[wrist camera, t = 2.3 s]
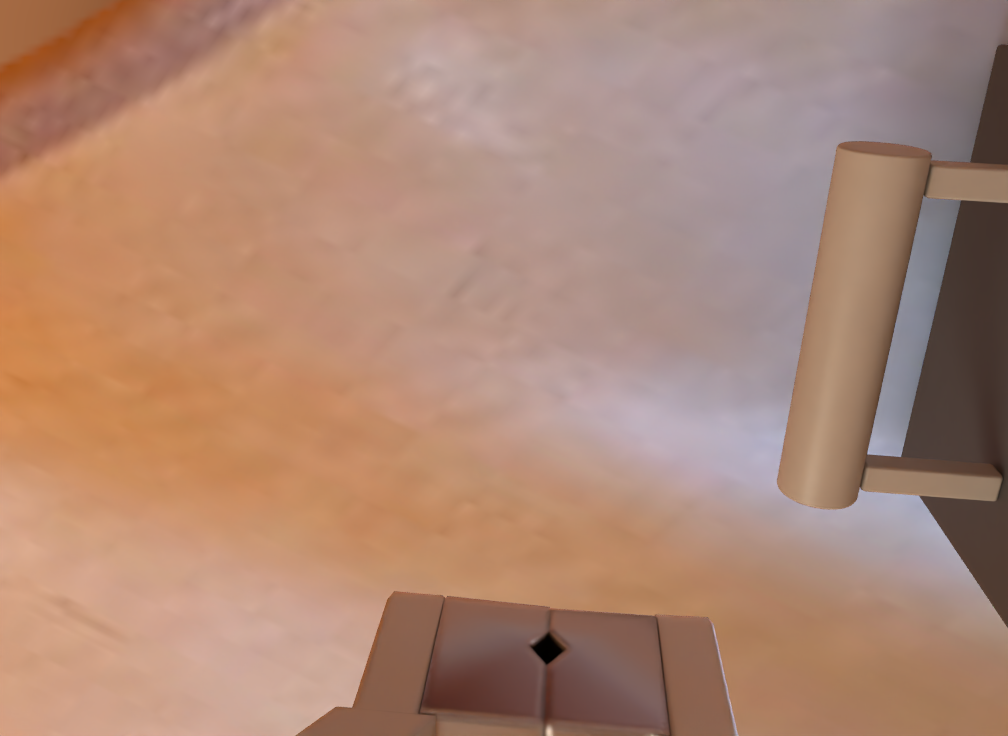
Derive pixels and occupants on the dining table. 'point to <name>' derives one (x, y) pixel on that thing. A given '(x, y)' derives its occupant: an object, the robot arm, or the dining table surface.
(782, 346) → the dining table surface
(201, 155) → the dining table surface
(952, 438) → the drawer
